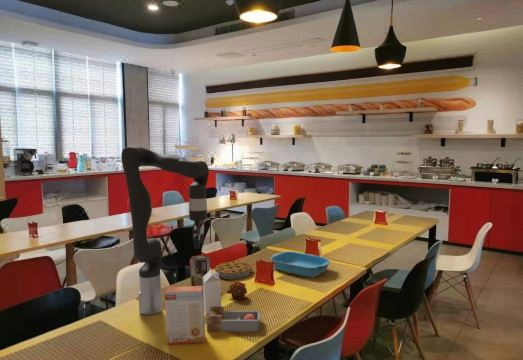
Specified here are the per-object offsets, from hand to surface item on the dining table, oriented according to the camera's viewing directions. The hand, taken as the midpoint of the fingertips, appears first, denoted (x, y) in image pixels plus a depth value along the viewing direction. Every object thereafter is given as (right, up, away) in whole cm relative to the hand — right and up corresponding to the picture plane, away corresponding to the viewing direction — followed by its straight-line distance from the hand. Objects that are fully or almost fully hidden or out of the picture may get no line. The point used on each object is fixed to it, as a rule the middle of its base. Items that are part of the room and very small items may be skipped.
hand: (198, 245), depth 168 cm
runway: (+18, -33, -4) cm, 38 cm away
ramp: (+8, -33, -4) cm, 34 cm away
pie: (+10, -27, +61) cm, 67 cm away
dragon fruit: (+15, -30, +26) cm, 43 cm away
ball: (+22, -30, -4) cm, 38 cm away
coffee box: (-5, -29, +40) cm, 49 cm away
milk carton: (+4, -32, +11) cm, 34 cm away
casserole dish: (+49, -26, +65) cm, 86 cm away
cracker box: (-3, -35, -15) cm, 38 cm away
